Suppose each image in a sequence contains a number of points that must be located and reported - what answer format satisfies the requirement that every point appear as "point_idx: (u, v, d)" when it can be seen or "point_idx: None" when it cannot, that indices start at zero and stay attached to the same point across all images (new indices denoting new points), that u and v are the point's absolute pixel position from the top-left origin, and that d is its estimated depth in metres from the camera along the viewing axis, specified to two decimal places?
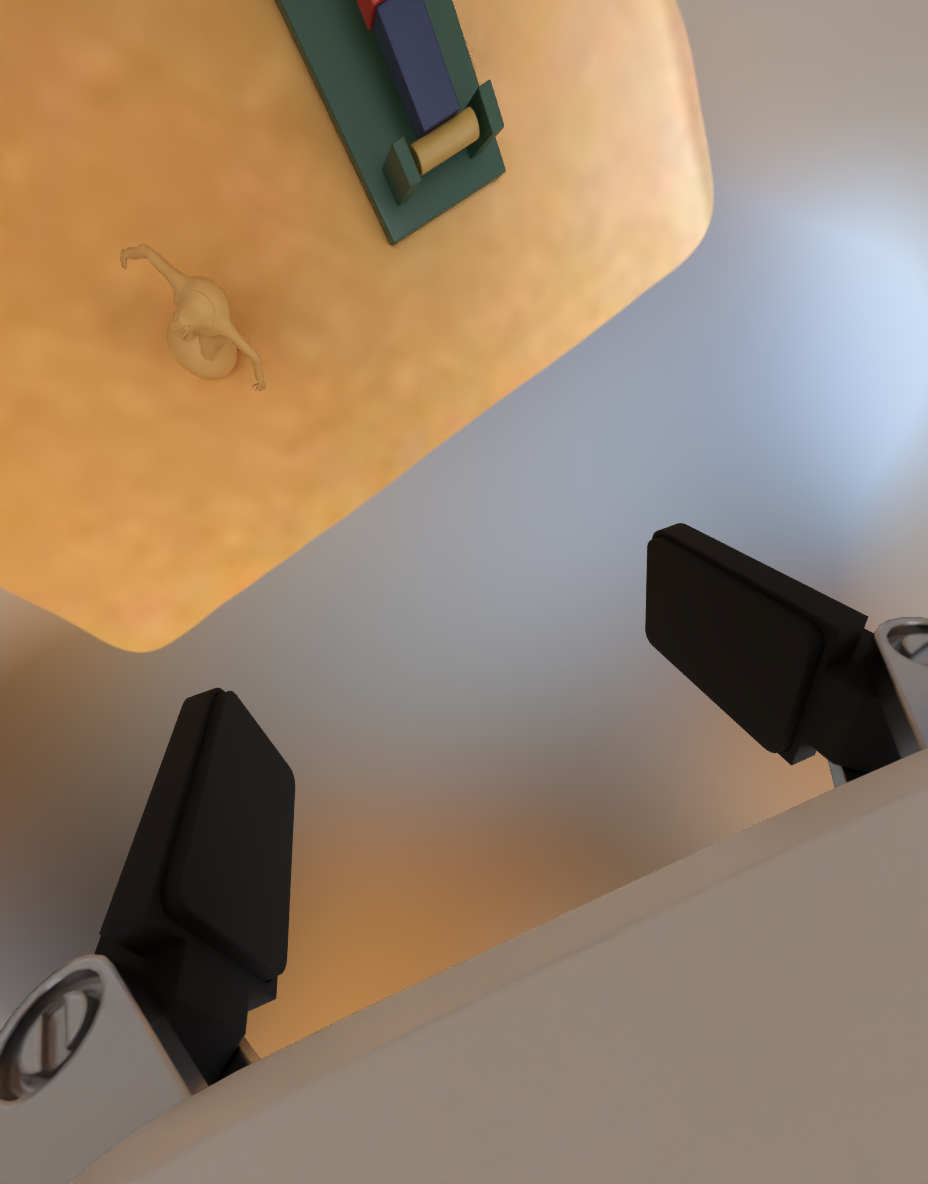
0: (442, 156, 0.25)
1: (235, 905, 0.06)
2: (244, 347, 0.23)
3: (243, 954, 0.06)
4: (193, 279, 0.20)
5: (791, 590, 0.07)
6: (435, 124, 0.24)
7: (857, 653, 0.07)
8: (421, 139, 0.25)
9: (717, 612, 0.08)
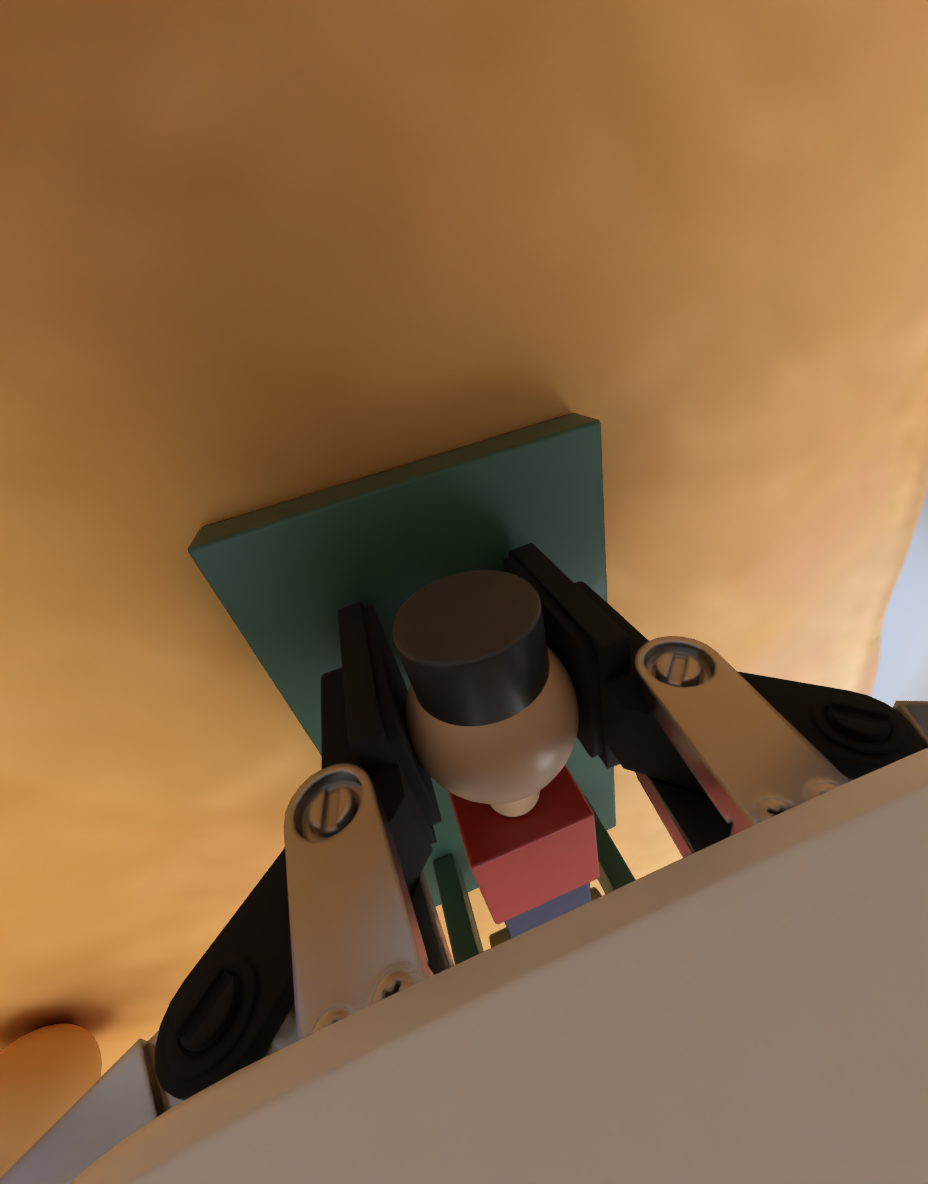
0: None
1: (414, 755, 0.07)
2: None
3: (423, 793, 0.07)
4: None
5: (584, 610, 0.07)
6: None
7: None
8: None
9: None
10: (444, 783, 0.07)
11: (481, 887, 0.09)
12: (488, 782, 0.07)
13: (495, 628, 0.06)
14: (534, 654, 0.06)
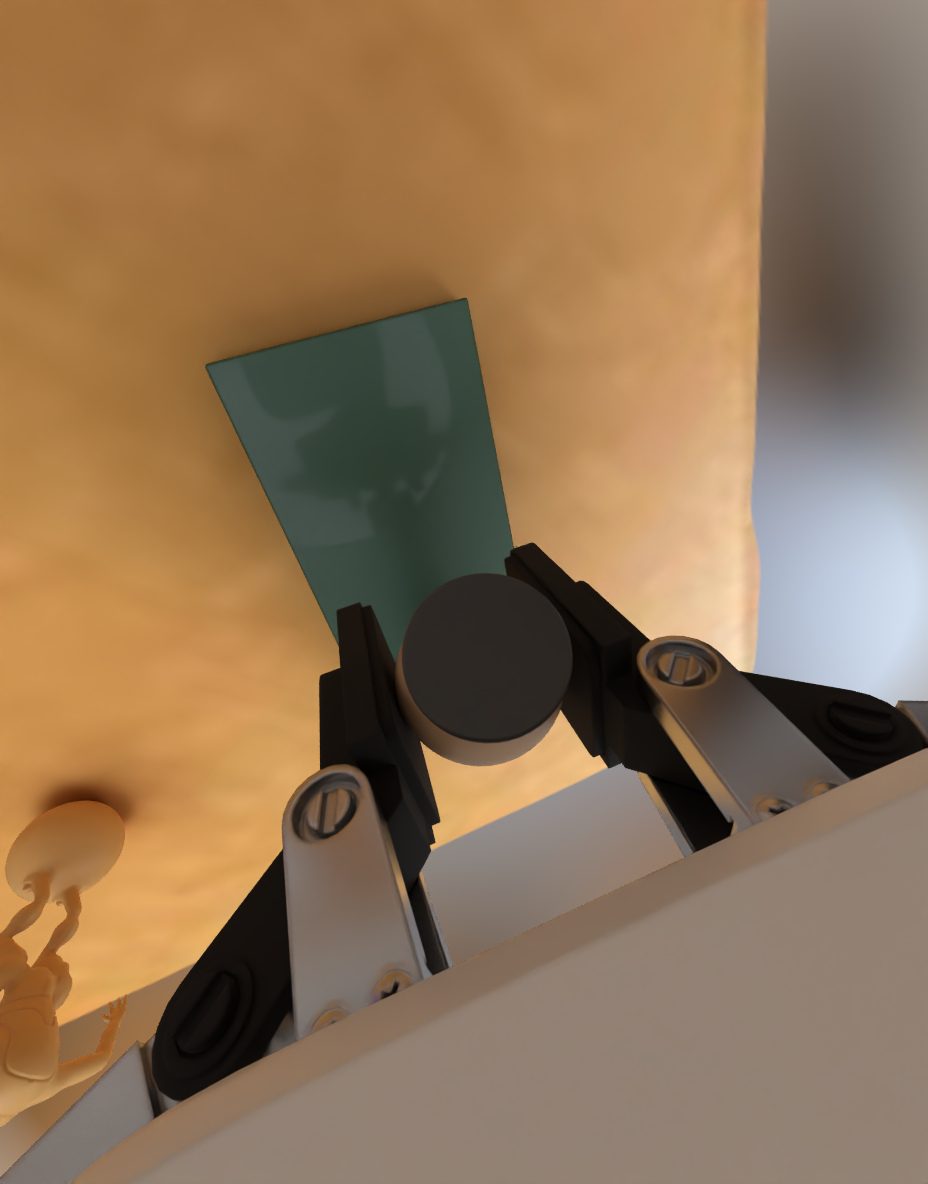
0: None
1: (413, 756, 0.07)
2: None
3: (421, 794, 0.07)
4: None
5: (585, 609, 0.07)
6: None
7: None
8: None
9: None
10: None
11: None
12: None
13: (525, 693, 0.06)
14: None
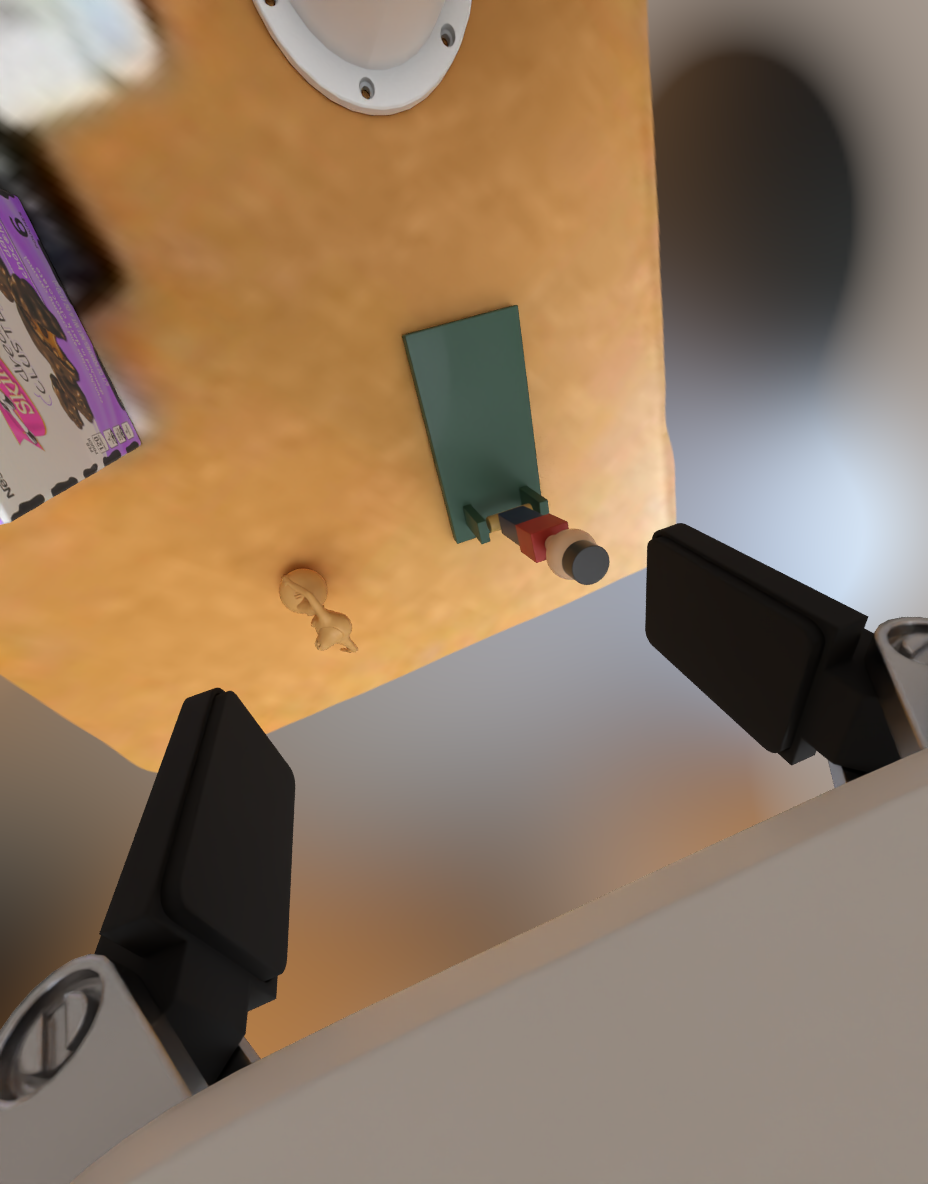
0: None
1: (235, 905, 0.06)
2: (351, 648, 0.33)
3: (243, 954, 0.06)
4: (335, 619, 0.30)
5: (791, 590, 0.07)
6: None
7: (857, 653, 0.07)
8: (498, 528, 0.37)
9: (717, 612, 0.08)
10: (556, 574, 0.28)
11: (532, 559, 0.31)
12: (568, 579, 0.28)
13: (597, 574, 0.25)
14: None
